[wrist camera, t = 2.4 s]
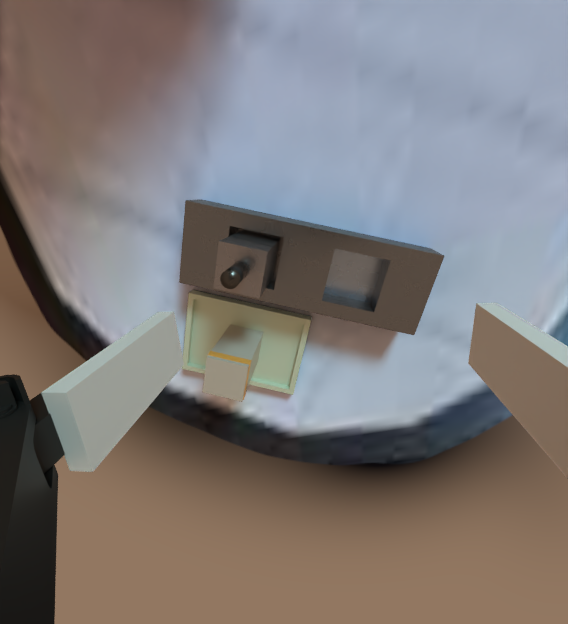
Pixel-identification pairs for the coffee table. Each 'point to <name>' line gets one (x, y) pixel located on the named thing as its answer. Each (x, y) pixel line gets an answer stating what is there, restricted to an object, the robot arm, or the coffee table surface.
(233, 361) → the plug
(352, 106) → the coffee table surface
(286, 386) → the tray
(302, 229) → the panel
